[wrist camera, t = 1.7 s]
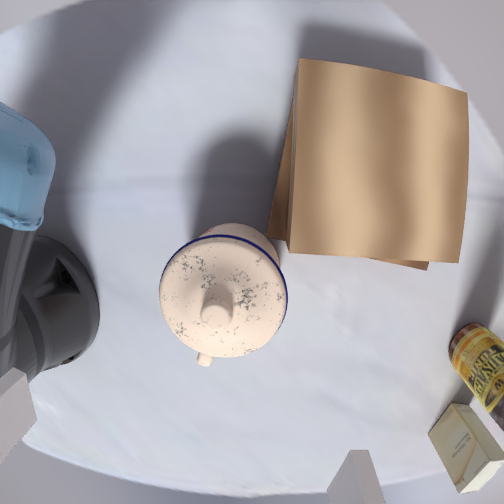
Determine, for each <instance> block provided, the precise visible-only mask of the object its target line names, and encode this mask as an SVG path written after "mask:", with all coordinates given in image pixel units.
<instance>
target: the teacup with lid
mask: <svg viewBox="0 0 504 504" xmlns="http://www.w3.org/2000/svg"><path fill="white" fill-rule="evenodd" d="M159 298H160V306H161V310H162V313H163V316H164V318H165V320H166V322H167V324H168V326H169V327H170V329H171V330H172V331H173V333H174V334H175V335H176V336H177V337H178V338H179V339H180V340H181V341H182V342H184V343H185V344H186V345H188V346H189V347H191V348H192V349H194V350H196V351H198V352H199V353H198V358H197V361H198V363H199V364H200V365H203V366H210V365H211V363H212V360H213V357H214V356H216V357H236V356H241V355H245V354H248V353H250V352H253V351H255V350H257V349H258V348H260V347H262V346H263V345H264V344H266V343H267V342H268V341H269V340H270V339H271V338H272V337H273V336H274V335H275V333H276V332H277V331H278V329H279V328H280V326H281V324H282V322H283V320H284V317H285V314H286V310H287V303H288V293H287V286H286V282H285V279H284V276H283V274H282V272H281V270H280V265H279V259H278V256H277V253H276V251H275V248H274V247H273V245H272V244H271V242H270V241H269V240H268V239H267V237H266V236H264V235H263V234H262V233H261V232H259V231H258V230H256V229H254V228H252V227H250V226H247V225H244V224H239V223H226V224H221V225H217V226H215V227H212V228H210V229H209V230H207V231H206V232H204V233H203V234H202V235H201V236H199V237H198V238H197V239H195V240H193V241H191V242H189V243H187V244H185V245H184V246H183V247H181V248H180V249H179V250H178V251H177V252H176V253H175V254H174V255H173V256H172V257H171V258H170V260H169V261H168V263H167V265H166V267H165V268H164V271H163V273H162V277H161V280H160V287H159Z"/></svg>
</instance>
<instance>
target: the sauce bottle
mask: <svg viewBox="0 0 504 504" xmlns="http://www.w3.org/2000/svg"><path fill="white" fill-rule="evenodd" d="M449 357H450V361H451V363H452V365H453V367H454V369H455V370H456V371H457V373H458V374H459V375H460V376H461V378H462V379H463V380H464V382H465V383H466V384H467V386H468V387H469V388H470V390H471V391H472V392H473V394H474V395H475V396H476V397H477V399H478V400H479V401H480V403H481V404H482V405H483V407H484V408H485V409H486V411H487V412H488V413H489V414H490V415H491V417H492V418H493V419H494V420H495V422H496V423H497V424H498V425H499V426H500V428H501V429H502V430H503V431H504V342H503V341H501V340H500V339H499V338H498V337H497V336H496V335H495V334H494V333H492V332H491V331H490V330H489V329H487V328H485V327H484V326H483V325H481V324H478V323H472V324H469V325H467V326H466V327H464V328H463V329H461V330H460V331H459V332H458V333H457V335H455V337H454V339H453V341H452V343H451V346H450V349H449Z"/></svg>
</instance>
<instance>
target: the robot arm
mask: <svg viewBox="0 0 504 504" xmlns="http://www.w3.org/2000/svg"><path fill="white" fill-rule="evenodd" d="M55 166H56V158H55V152H54V149H53V146H52V144H51V142H50V141H49V139H48V138H47V136H46V135H45V134H44V133H43V132H42V131H41V130H40V129H39V128H38V127H37V126H35V125H34V124H33V123H32V122H30V121H29V120H28V119H26V118H25V117H23V116H22V115H21V114H19V113H18V112H16V111H14V110H13V109H11V108H10V107H8V106H6V105H5V104H3V103H1V102H0V464H1V463H2V462H3V460H4V459H5V458H6V457H7V455H8V454H9V453H10V452H11V450H12V449H13V448H14V447H15V446H16V444H17V443H18V442H19V441H20V440H21V438H22V437H23V436H24V435H25V434H26V432H27V431H28V430H29V429H30V428H31V427H32V425H33V424H34V423H35V422H36V421H37V418H36V414H35V410H34V406H33V402H32V398H31V394H30V390H29V385H28V383H29V382H30V381H31V380H32V379H33V378H34V377H35V376H36V375H37V374H39V373H40V372H42V371H45V370H48V369H51V368H55V367H57V366H60V365H63V364H67V363H70V362H72V361H74V360H76V359H77V358H78V357H80V356H81V355H82V354H83V353H84V352H85V351H86V350H87V349H88V348H89V347H90V345H91V344H92V343H93V341H94V339H95V337H96V334H97V331H98V326H99V307H98V301H97V296H96V293H95V290H94V287H93V284H92V282H91V280H90V277H89V275H88V274H87V272H86V270H85V268H84V267H83V265H82V264H81V263H80V261H79V260H78V259H77V258H76V256H75V255H74V254H73V253H72V252H71V251H70V250H69V249H67V248H66V247H65V246H64V245H62V244H61V243H59V242H57V241H55V240H53V239H50V238H47V237H41V236H36V237H35V234H36V230H37V229H38V228H39V227H40V226H41V224H42V222H43V219H44V205H45V201H46V198H47V195H48V191H49V188H50V185H51V181H52V178H53V175H54V172H55ZM327 492H328V498H329V503H330V504H386V503H385V500H384V497H383V494H382V491H381V487H380V484H379V481H378V478H377V475H376V472H375V469H374V466H373V463H372V460H371V457H370V454H369V451H368V450H350V451H349V453H348V455H347V457H346V458H345V460H344V462H343V464H342V466H341V467H340V469H339V471H338V472H337V474H336V476H335V477H334V479H333V481H332V482H331V484H330V486H329V487H328V489H327Z"/></svg>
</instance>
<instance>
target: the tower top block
mask: <svg viewBox="0 0 504 504" xmlns="http://www.w3.org/2000/svg"><path fill="white" fill-rule="evenodd" d="M468 164H469V119H468V98H467V93H466V92H463V91H460V90H457V89H453V88H450V87H447V86H444V85H440V84H437V83H433V82H430V81H426V80H422V79H418V78H414V77H410V76H406V75H402V74H398V73H393V72H388V71H384V70H379V69H374V68H368V67H363V66H357V65H351V64H344V63H337V62H330V61H322V60H313V59H303V58H299V60H298V64H297V68H296V72H295V77H294V106H293V130H292V151H291V170H290V188H289V204H288V220H287V234H286V244H287V247H288V251H289V253H298V254H314V255H331V256H348V257H365V258H381V259H398V260H415V261H431V262H448V263H458V262H459V256H460V250H461V243H462V236H463V228H464V220H465V210H466V199H467V185H468Z"/></svg>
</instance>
